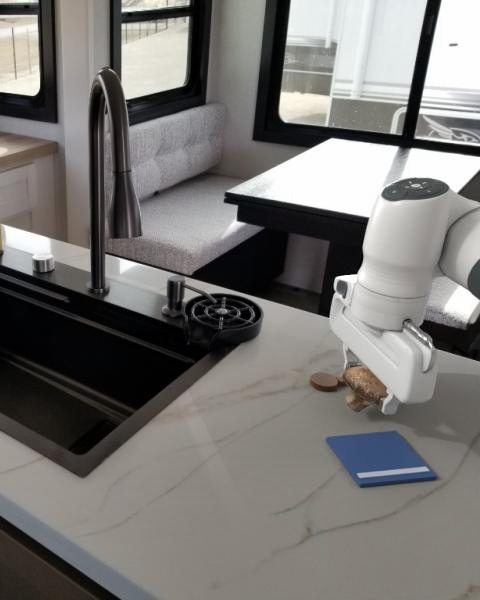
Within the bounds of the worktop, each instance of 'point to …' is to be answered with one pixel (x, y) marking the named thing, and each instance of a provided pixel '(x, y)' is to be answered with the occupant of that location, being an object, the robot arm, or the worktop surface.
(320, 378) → the spoon
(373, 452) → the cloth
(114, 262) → the worktop surface
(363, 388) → the mushroom
